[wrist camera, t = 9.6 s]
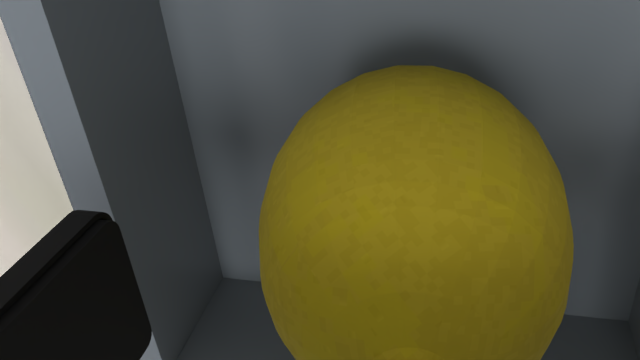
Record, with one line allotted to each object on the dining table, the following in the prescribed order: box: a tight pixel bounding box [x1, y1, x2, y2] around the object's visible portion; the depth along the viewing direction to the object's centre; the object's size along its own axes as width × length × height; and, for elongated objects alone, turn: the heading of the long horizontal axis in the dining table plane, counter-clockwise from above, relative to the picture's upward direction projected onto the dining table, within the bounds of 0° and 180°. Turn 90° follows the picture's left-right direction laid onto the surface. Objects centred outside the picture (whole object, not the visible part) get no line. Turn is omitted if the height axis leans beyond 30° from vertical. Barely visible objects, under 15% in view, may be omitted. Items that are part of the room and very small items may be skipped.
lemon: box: [259, 65, 574, 360], centre depth 11 cm, size 6×6×8 cm
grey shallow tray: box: [0, 0, 640, 360], centre depth 13 cm, size 14×14×5 cm
